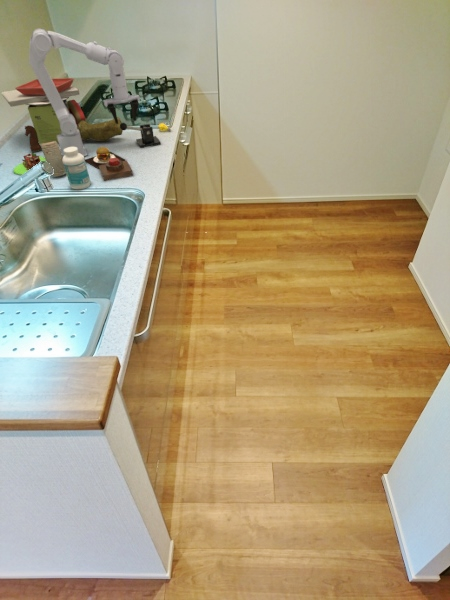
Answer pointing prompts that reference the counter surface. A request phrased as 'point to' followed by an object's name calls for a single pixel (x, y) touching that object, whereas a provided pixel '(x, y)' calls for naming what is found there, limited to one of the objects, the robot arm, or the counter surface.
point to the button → (113, 161)
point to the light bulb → (163, 127)
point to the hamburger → (102, 157)
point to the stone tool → (99, 130)
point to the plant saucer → (36, 88)
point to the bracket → (147, 137)
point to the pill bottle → (76, 168)
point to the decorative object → (76, 111)
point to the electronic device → (34, 96)
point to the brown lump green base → (28, 163)
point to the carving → (54, 157)
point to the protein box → (46, 122)
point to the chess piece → (33, 138)
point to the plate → (44, 102)
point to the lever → (129, 127)
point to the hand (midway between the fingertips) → (125, 121)
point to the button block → (115, 170)
